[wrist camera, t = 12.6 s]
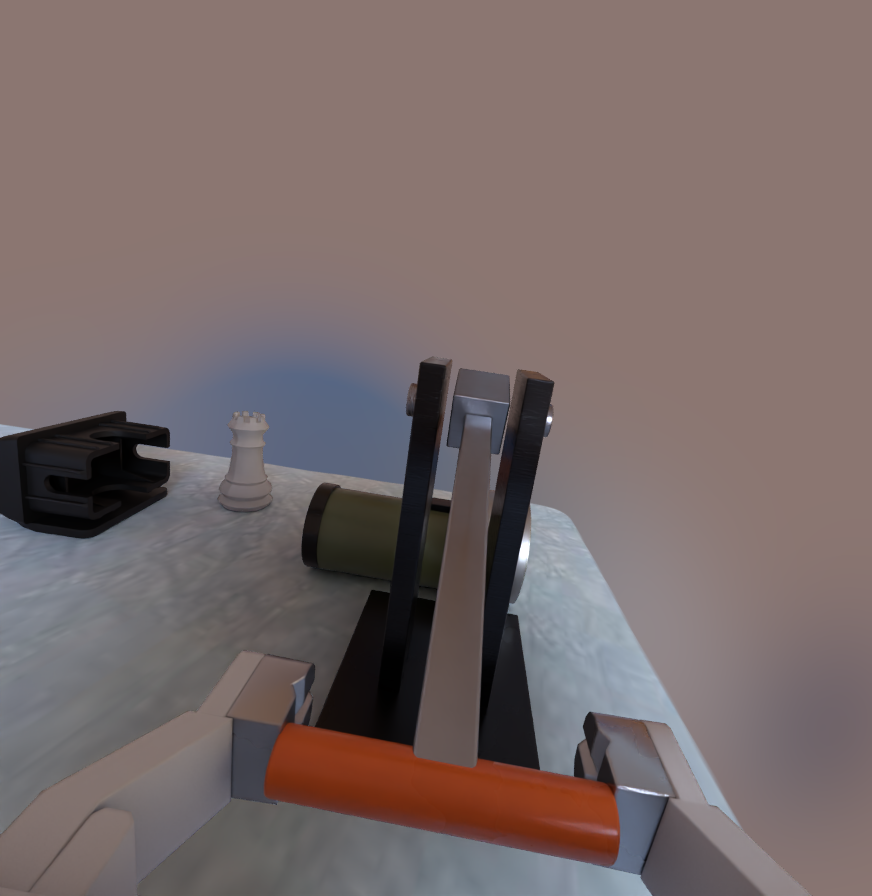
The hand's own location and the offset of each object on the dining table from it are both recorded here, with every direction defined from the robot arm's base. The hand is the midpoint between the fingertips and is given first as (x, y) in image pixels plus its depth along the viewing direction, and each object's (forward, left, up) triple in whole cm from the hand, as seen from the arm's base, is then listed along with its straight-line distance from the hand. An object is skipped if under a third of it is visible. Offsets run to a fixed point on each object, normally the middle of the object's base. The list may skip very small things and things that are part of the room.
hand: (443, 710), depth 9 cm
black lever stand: (-9, +7, -10) cm, 15 cm away
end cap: (-36, -7, -10) cm, 38 cm away
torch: (-18, +12, -10) cm, 23 cm away
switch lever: (-4, +4, +1) cm, 6 cm away
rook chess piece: (-34, +4, -10) cm, 35 cm away
